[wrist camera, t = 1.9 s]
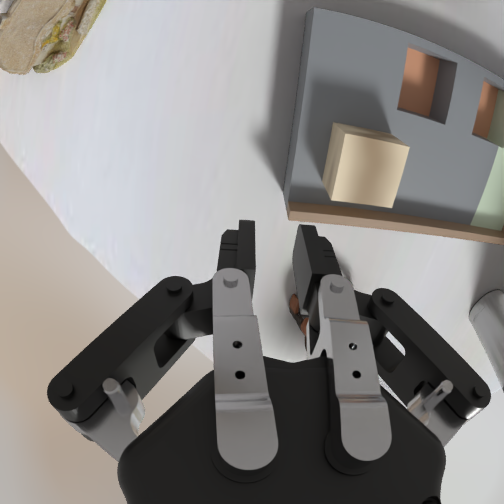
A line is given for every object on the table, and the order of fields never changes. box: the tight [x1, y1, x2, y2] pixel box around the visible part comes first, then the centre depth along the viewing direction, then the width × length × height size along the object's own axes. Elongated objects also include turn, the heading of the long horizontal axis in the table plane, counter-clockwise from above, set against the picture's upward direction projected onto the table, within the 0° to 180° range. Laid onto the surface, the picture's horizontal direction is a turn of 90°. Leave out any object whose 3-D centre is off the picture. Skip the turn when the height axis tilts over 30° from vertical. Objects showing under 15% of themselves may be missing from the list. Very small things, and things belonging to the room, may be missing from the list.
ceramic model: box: [0, 0, 106, 75], centre depth 16 cm, size 14×11×10 cm
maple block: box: [322, 122, 410, 208], centre depth 25 cm, size 6×6×4 cm
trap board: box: [283, 7, 504, 245], centre depth 26 cm, size 32×20×7 cm, turn 85°
